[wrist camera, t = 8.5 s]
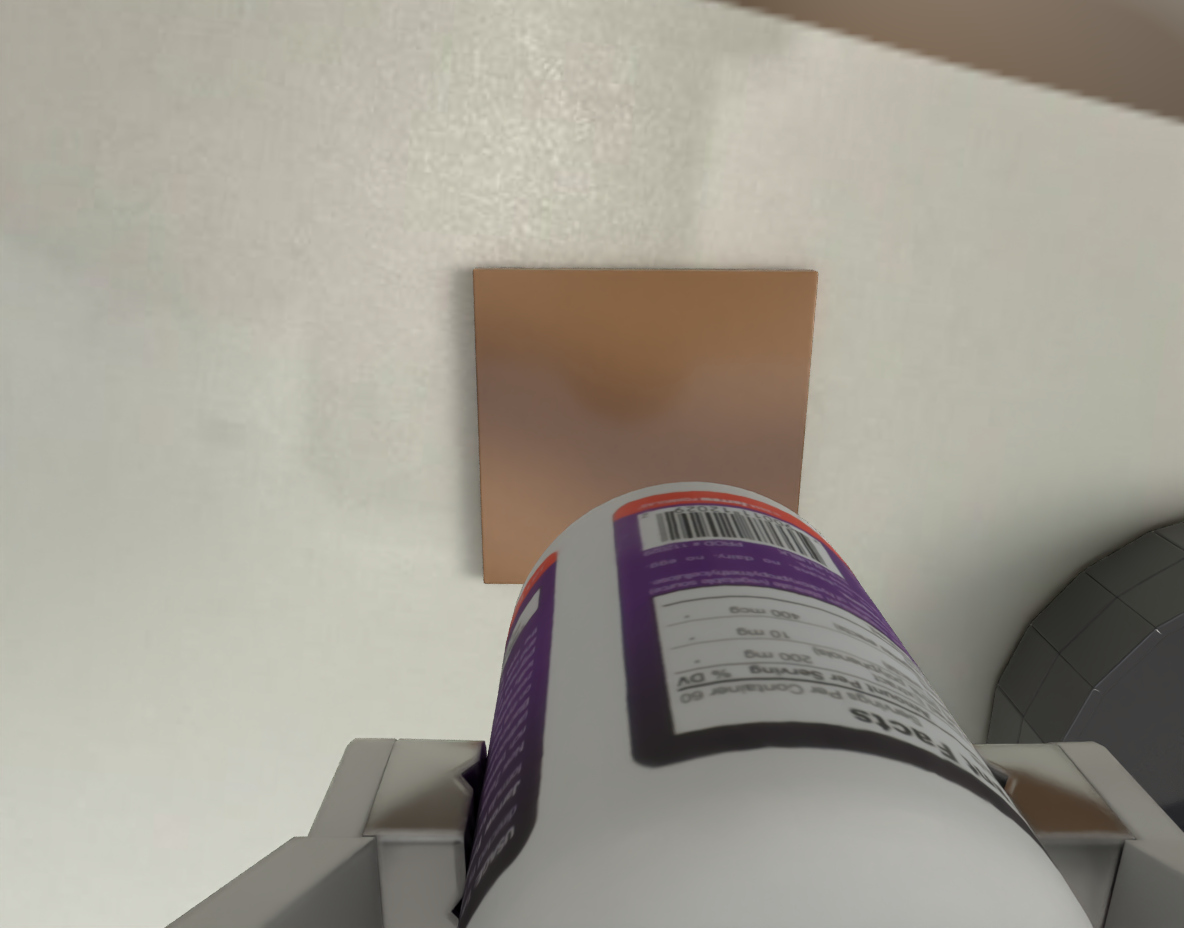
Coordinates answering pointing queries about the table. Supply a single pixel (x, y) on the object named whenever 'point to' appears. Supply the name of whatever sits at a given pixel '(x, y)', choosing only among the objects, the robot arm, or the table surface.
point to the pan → (1109, 667)
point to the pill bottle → (732, 744)
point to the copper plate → (632, 392)
